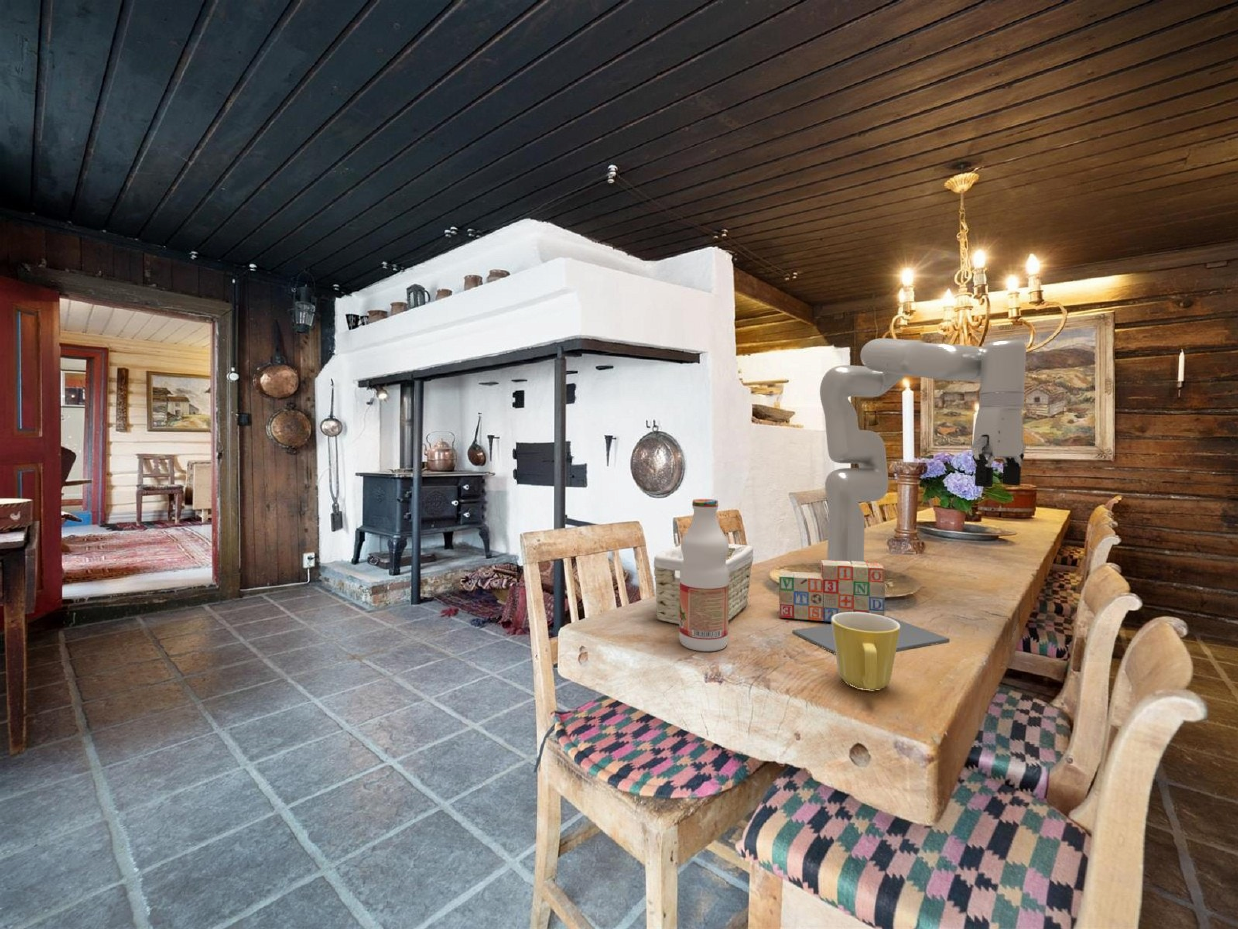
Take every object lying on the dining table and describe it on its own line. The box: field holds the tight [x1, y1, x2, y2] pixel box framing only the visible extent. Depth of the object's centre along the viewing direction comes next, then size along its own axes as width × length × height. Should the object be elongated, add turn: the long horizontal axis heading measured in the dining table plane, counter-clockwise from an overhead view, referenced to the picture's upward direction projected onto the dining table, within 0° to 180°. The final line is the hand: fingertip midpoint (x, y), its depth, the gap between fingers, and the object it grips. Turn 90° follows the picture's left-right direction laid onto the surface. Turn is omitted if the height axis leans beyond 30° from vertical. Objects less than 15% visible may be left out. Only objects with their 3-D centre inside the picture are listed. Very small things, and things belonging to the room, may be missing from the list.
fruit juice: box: [678, 498, 729, 652], centre depth 107 cm, size 9×9×28 cm
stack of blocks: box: [778, 559, 886, 622], centre depth 122 cm, size 21×6×12 cm, turn 72°
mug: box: [830, 612, 900, 690], centre depth 89 cm, size 14×10×10 cm
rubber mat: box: [791, 615, 950, 655], centre depth 112 cm, size 15×26×1 cm, turn 112°
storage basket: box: [653, 543, 754, 625], centre depth 126 cm, size 24×16×15 cm
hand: (997, 485), depth 115 cm, fingers open, 9 cm apart
